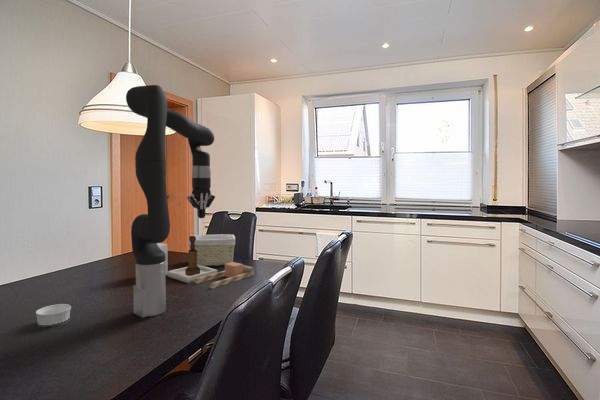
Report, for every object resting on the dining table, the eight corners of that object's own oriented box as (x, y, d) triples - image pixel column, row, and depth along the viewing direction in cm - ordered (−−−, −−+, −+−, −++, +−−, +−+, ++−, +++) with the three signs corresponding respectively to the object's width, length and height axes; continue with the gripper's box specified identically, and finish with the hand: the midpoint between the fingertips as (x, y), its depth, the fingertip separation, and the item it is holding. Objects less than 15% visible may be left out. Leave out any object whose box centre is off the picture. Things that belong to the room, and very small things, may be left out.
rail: (212, 288, 136) (212, 279, 135) (194, 283, 143) (194, 274, 143) (253, 275, 155) (253, 267, 155) (236, 271, 162) (236, 263, 162)
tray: (188, 283, 142) (188, 277, 142) (167, 276, 152) (167, 271, 152) (217, 275, 155) (217, 269, 155) (197, 269, 165) (197, 264, 165)
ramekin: (66, 314, 109) (66, 301, 109) (75, 321, 103) (74, 308, 103) (32, 322, 102) (32, 309, 102) (40, 331, 96) (39, 317, 96)
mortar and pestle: (195, 276, 150) (195, 237, 149) (182, 275, 151) (182, 236, 150) (202, 272, 156) (202, 234, 155) (190, 271, 157) (189, 234, 156)
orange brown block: (234, 279, 149) (234, 266, 148) (224, 276, 153) (224, 263, 153) (243, 276, 153) (243, 264, 152) (232, 274, 157) (232, 261, 157)
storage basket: (234, 258, 189) (234, 233, 188) (235, 265, 173) (235, 238, 172) (190, 260, 183) (190, 234, 182) (188, 268, 167) (188, 239, 166)
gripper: (193, 176, 130) (193, 220, 131) (219, 177, 140) (219, 217, 141) (182, 176, 134) (182, 218, 135) (208, 177, 145) (208, 216, 146)
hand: (201, 218), depth 138 cm, fingers closed
